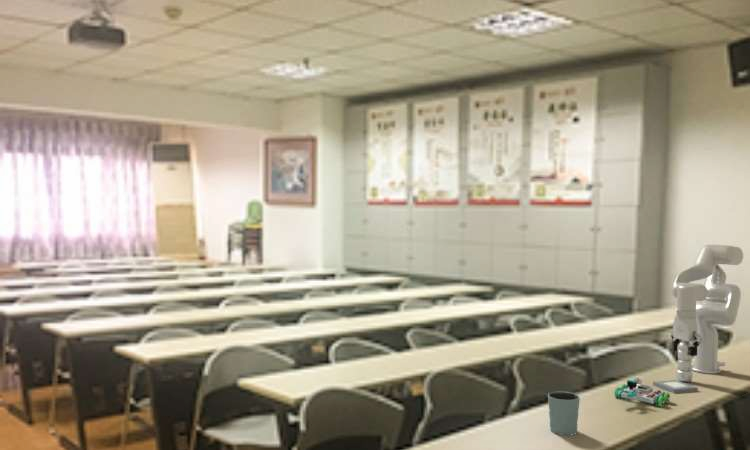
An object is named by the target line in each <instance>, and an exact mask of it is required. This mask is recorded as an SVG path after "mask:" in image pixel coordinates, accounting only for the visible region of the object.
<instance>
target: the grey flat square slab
mask: <svg viewBox="0 0 750 450" xmlns="http://www.w3.org/2000/svg"><path fill="white" fill-rule="evenodd" d="M652 386H655V387H656V388H658V389H659V388H660V390H661V389H662V390H665V391H667V392H668V393H672V394H680V393H690V392H691V393H692V392H698V391H699V387H697V386H694V385H691V384H690V383H686V382H683V381H680V380H678V379H672V380H661V381H660V380H659V381H657V380H656V381H653V382H652Z"/></svg>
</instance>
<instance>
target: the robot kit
mask: <svg viewBox="0 0 750 450" xmlns="http://www.w3.org/2000/svg"><path fill="white" fill-rule="evenodd" d="M626 381H627V382H626V383H623V384H622V385H621V387H619V386H617V387H615V389H614V394H613V395H614V397H615V399H616V398H617V399H622V398H624V399H629V400H634V401H641V402H644V403H645V402H646V403H649V404H652V405H653V404H654V403H655V405H656V407H659V408H663V407H664V405H665V404H666V403H667V404H669V403H670V400H671V395H670V392H665V391H664V392H662V390H661V389H659V388H656V389H653V387H651V386H649V385H645V384H643V383H642V379H640V378H639V377H635V378H633V379H626ZM658 405H659V406H658Z"/></svg>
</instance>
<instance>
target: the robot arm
mask: <svg viewBox="0 0 750 450" xmlns="http://www.w3.org/2000/svg"><path fill="white" fill-rule="evenodd" d="M743 252H744V251H743V250H742V248H741V247H739V246H732V245H726V244H724V245H723V244H706V245H703V246H702V247H701V248H700V250H699V252H698V253H697V256H696V258H695V261H694V262H693V265H692V266H690V267H688V268H686V269H684V270H682V271H681V272H680V273H678V274H677V276H676V277H675V280H674V282H673V284H672V288H671V294H672V295H671V296H673V298H675V299H676V310H675V311H676V314H675V316H674V320H673V326H672V329H670V330H669V333H670V335H671V336H670V337H671V340H672V342H673V351H674V352H678V350H677V346H678V344H679V343H680V342H681V340H683V341H689V342H690V344H691V346H690V356H692V357H694V360H693V361H694V362H693V363H694V364H691V365H692V372H696V373H700V374H708V375H710V374H711V375H715V374H721V373H722V369H721V368H720V367H725V366H726V363H725V361H718V353H719V352H718V351H719V350H718V348H719V332H718V330H717V328H716V327H715V326H714V325H720V326H725V327H726V326H727V327H730V326H733V325H735V323H736V319H737V316H738V311H739V307H740V303H741V299H742V297H741V294H742V292H741V288H740V286H738V285H737V284H733V283H726V281H727V273H726V271H725V270H724V269H723V268H722V267H721V266H720V265H730V266H739V265H741V263H742V262H743V259H744V253H743ZM700 280H704V284H701V283H693V282H696V281H700ZM703 301H704V302H703ZM697 302H698V303H697Z"/></svg>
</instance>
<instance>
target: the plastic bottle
mask: <svg viewBox="0 0 750 450" xmlns="http://www.w3.org/2000/svg"><path fill="white" fill-rule="evenodd" d="M690 346H691V344H690V342H689V341H683V340H680V343H679V344H678V346H677V350H678V351H677V359H678V360H677V370H676V374H675V375H676V380H678V381H681V382H684V383H686V382H687V383H688V382H689V383H690V382H691V381H692V380H693V376H694V375H693V370H692V365H693V364H692V363H693V362H692V361H693V356H690Z"/></svg>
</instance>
